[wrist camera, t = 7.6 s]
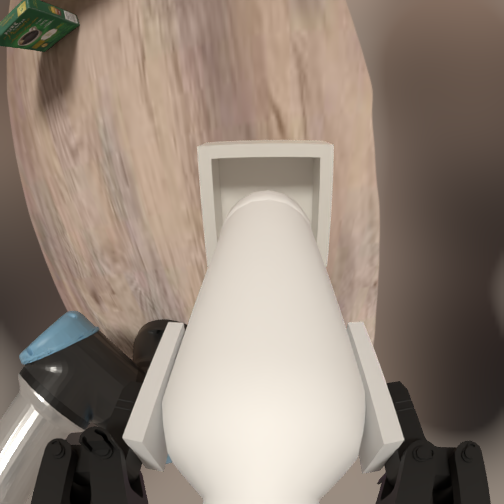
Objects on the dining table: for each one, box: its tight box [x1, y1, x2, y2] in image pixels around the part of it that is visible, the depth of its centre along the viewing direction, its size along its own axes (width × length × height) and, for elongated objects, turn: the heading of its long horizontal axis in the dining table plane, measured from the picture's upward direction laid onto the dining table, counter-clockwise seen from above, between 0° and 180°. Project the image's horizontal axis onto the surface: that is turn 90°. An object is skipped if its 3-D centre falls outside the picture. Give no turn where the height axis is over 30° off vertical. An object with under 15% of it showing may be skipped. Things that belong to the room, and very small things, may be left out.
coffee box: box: [0, 0, 79, 52], centre depth 22 cm, size 8×3×13 cm, turn 109°
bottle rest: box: [197, 140, 334, 267], centre depth 36 cm, size 15×15×6 cm
